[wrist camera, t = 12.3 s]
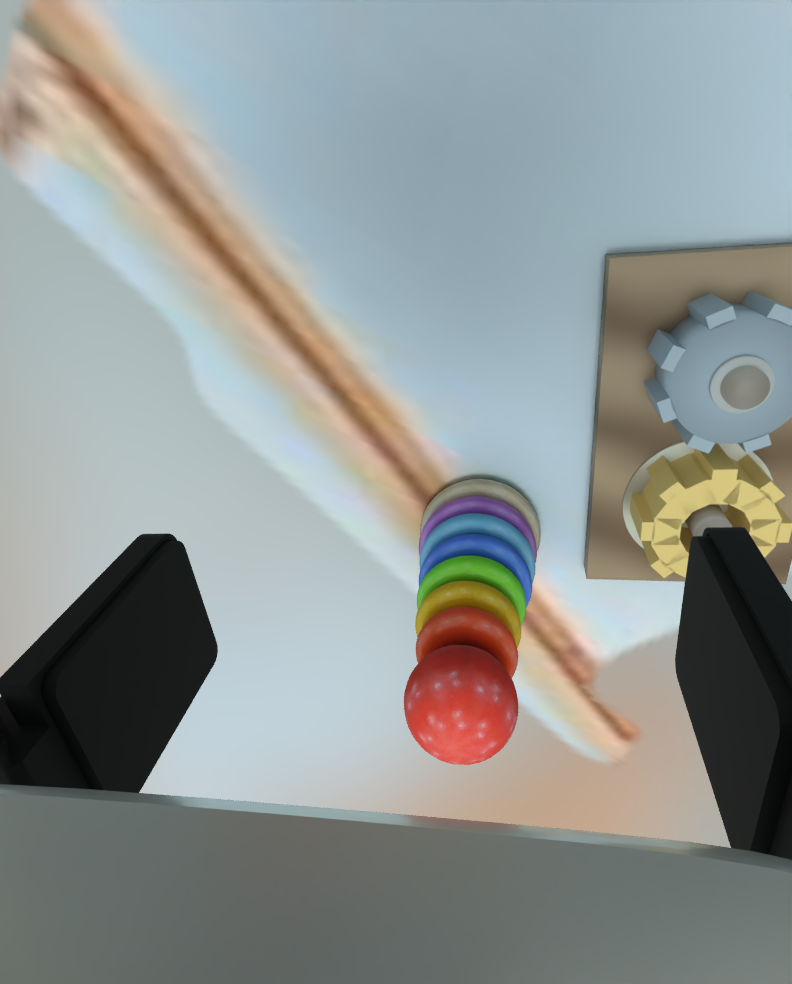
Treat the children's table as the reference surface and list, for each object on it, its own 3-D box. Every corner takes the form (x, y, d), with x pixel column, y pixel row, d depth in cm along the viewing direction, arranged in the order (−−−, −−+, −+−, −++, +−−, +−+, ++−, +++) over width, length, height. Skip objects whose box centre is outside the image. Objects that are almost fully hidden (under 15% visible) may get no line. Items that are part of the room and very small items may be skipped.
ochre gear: (636, 444, 35) (648, 470, 32) (779, 442, 34) (806, 469, 31) (625, 554, 39) (635, 587, 36) (754, 556, 37) (776, 590, 34)
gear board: (605, 254, 33) (624, 270, 27) (856, 238, 30) (929, 251, 25) (584, 566, 42) (595, 622, 36) (776, 570, 39) (817, 631, 34)
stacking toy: (563, 508, 40) (601, 740, 23) (501, 592, 44) (498, 842, 27) (455, 454, 39) (419, 653, 23) (403, 544, 43) (339, 770, 27)
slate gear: (624, 329, 33) (638, 347, 29) (778, 264, 30) (813, 275, 27) (666, 449, 35) (683, 478, 32) (811, 397, 33) (846, 424, 29)
